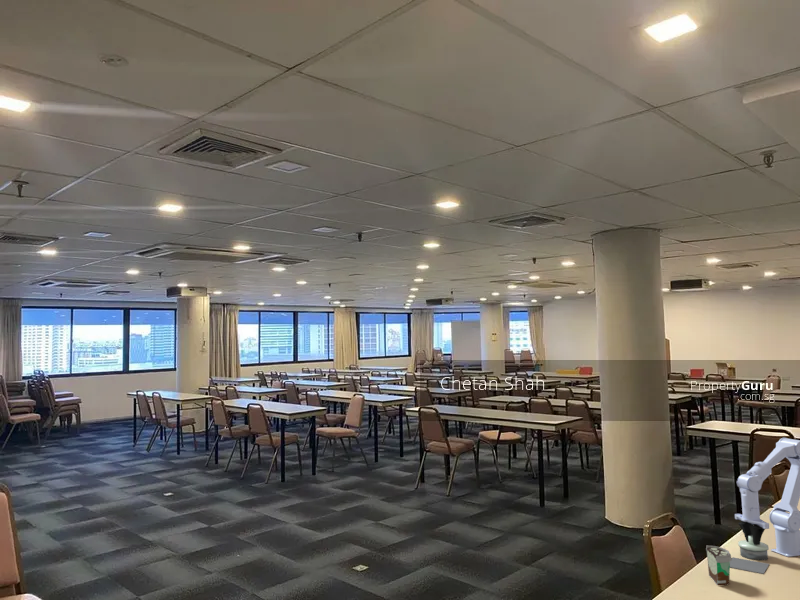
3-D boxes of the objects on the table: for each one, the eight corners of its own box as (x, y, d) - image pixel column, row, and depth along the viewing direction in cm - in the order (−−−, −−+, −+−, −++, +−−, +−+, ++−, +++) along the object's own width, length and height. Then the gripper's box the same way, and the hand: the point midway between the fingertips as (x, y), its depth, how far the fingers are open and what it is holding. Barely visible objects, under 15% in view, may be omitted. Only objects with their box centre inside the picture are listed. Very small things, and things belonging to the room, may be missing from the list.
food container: (739, 588, 196) (736, 557, 197) (718, 587, 197) (716, 556, 198) (726, 574, 208) (724, 545, 209) (707, 574, 209) (705, 544, 210)
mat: (732, 558, 225) (732, 557, 225) (769, 564, 217) (769, 563, 217) (725, 566, 216) (725, 566, 216) (763, 574, 208) (763, 573, 208)
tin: (754, 551, 232) (753, 542, 232) (773, 559, 223) (772, 549, 223) (735, 553, 230) (734, 544, 230) (753, 561, 221) (753, 551, 221)
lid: (753, 541, 233) (752, 531, 233) (775, 549, 223) (774, 538, 223) (732, 544, 230) (731, 533, 231) (753, 552, 221) (752, 541, 221)
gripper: (727, 503, 234) (729, 538, 233) (757, 512, 220) (759, 549, 219) (742, 501, 236) (744, 536, 235) (772, 510, 222) (775, 548, 221)
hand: (753, 543), depth 227 cm, fingers closed on lid, 3 cm apart
